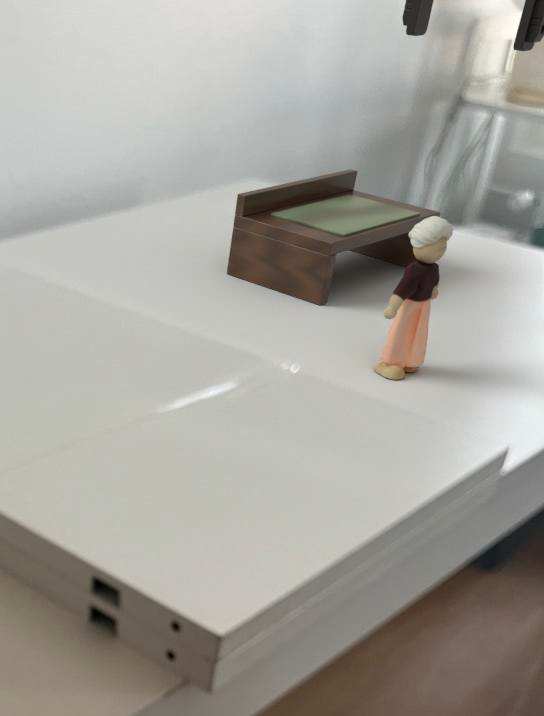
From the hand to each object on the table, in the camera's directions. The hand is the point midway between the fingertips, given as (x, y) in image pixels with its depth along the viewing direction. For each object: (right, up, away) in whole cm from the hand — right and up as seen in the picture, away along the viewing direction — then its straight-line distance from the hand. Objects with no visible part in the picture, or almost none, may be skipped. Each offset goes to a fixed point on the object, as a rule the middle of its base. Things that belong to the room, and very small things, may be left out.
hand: (467, 42), depth 77 cm
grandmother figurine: (-1, -22, +12) cm, 25 cm away
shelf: (-2, -5, +34) cm, 34 cm away
